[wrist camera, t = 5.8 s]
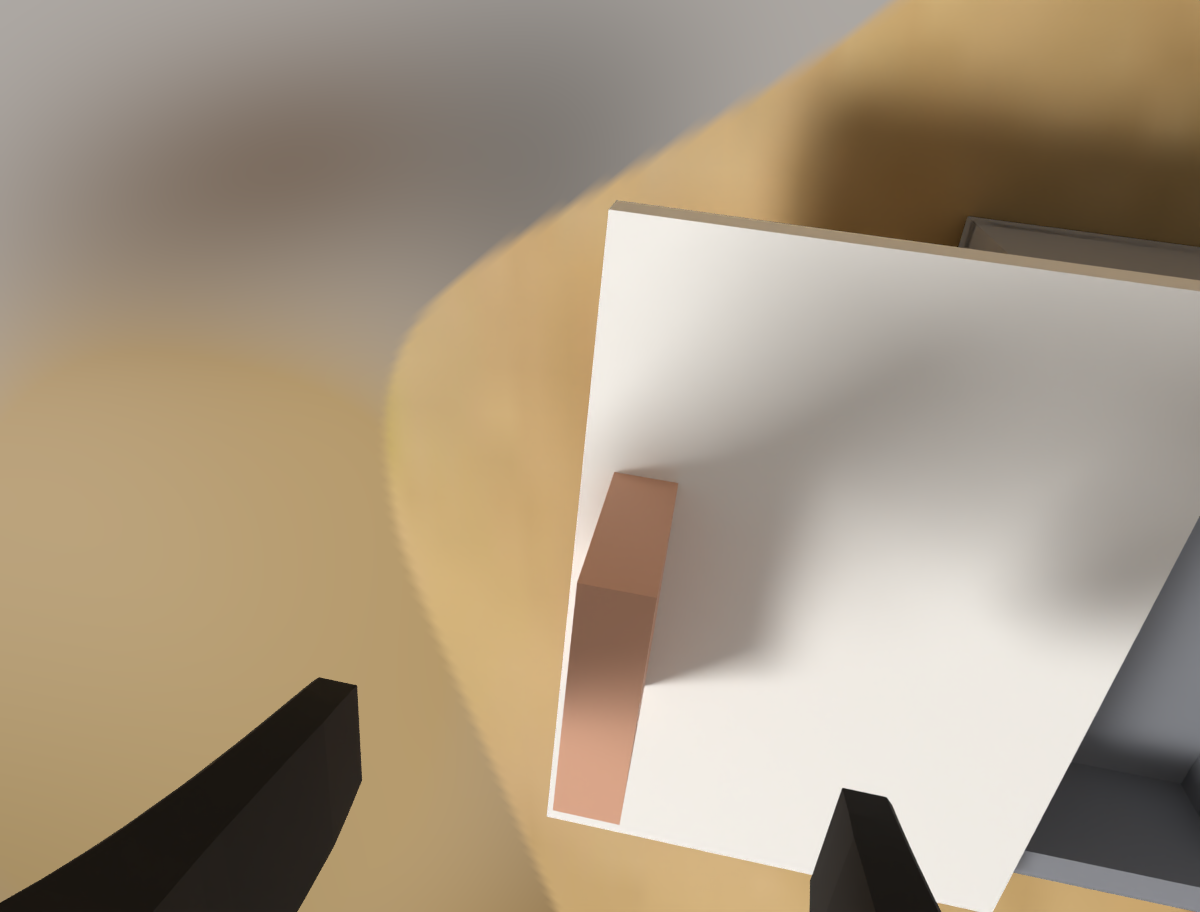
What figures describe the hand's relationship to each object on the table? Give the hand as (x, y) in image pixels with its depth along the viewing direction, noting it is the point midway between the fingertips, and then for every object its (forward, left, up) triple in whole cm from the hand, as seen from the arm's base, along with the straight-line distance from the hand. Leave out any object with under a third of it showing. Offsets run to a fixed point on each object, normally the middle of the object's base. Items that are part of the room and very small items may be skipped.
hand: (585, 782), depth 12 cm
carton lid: (-4, 0, -6) cm, 7 cm away
